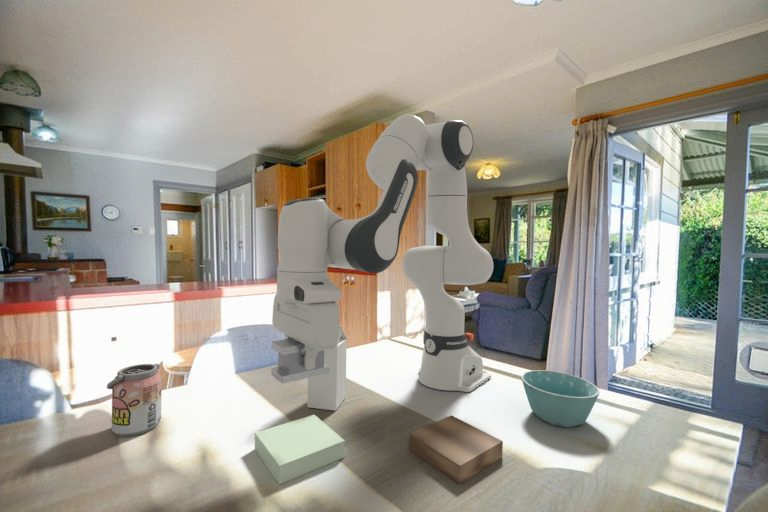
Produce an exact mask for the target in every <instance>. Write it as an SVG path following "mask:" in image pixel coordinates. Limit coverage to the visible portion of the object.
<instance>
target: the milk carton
mask: <svg viewBox="0 0 768 512" xmlns="http://www.w3.org/2000/svg"><path fill="white" fill-rule="evenodd" d="M347 342H348V341H347V337H346V334H345V332H344V329H343V325H339V339H338V343H337V345H336V346H335V348H333V349H328V350H324V363H325V364H327V365H328V366H330V373H326V374H322V375H318V376H313V377H309V378H307V403H306V404H307V405H306V406H307V408H310V409H318V410H327V411H337V410H338V409H339V407H340V406H341V404H342V403H343V401H345V399H346V389H347V388H346V387H347V386H346V385H347V384H346V383H347V382H346V381H347Z"/></svg>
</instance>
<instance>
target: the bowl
mask: <svg viewBox="0 0 768 512" xmlns="http://www.w3.org/2000/svg"><path fill="white" fill-rule="evenodd" d="M521 380H522V381H521V382H522V384H523V387H524V388H523V389H524V391H525V395H526V397H527V401H528V404H529V407H530V409H531V411H532V412H533V413H534V414H535V415H536V416H537V417H538V418H539V419H541V420H542V421H543V420H544V421H543V422H545V421H546V422H545V423H547V422H548V423H547V424H551V425H553V426H556V425H557V426H556V427H561V426H563V427H562V428H575V427H577V425H578V426H581V425H582V424H584V423H585V422H586V421H587V419H588V418H589V415H590V414H591V412H592V410H593V408H594V406H595V404H596V402H597V399H598V397H599V395H600V389H599V388H598V386H596V385H595V384H594V383H592V382H590V381H589V380H587V379H584V378H581V377H579V376H576V375H573V374H569V373H565V372H560V371H555V370H554V371H553V370H544V369H542V370H541V369H537V370H528V371H526V372H524V373H522V375H521ZM574 426H575V427H574Z"/></svg>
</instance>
